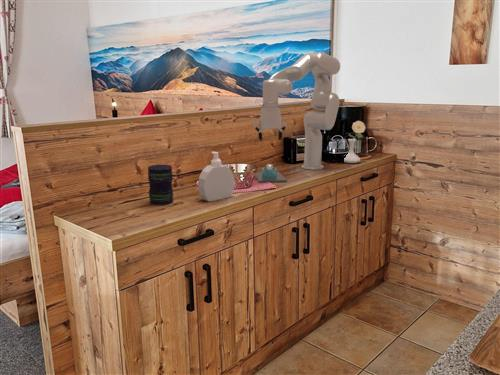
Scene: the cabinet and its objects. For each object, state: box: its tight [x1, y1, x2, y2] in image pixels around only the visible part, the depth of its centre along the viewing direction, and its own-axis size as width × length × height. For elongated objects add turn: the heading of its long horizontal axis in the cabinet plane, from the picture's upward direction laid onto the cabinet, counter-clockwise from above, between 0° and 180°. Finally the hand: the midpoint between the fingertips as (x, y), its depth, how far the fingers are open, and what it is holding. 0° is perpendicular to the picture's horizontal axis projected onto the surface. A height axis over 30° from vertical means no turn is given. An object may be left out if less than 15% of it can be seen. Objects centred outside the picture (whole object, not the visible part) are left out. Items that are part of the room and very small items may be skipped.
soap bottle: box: [197, 151, 235, 202], centre depth 197 cm, size 16×5×20 cm, turn 130°
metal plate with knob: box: [254, 163, 288, 184], centre depth 236 cm, size 20×14×7 cm
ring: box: [261, 166, 278, 178], centre depth 236 cm, size 7×7×4 cm
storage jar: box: [147, 164, 174, 206], centre depth 191 cm, size 10×10×15 cm
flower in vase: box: [344, 120, 367, 164], centre depth 275 cm, size 13×11×25 cm
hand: (270, 140), depth 233 cm, fingers open, 9 cm apart
